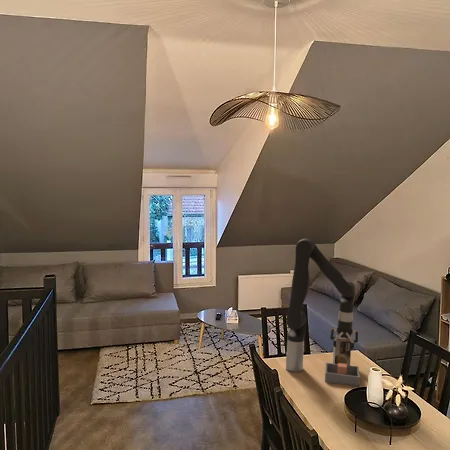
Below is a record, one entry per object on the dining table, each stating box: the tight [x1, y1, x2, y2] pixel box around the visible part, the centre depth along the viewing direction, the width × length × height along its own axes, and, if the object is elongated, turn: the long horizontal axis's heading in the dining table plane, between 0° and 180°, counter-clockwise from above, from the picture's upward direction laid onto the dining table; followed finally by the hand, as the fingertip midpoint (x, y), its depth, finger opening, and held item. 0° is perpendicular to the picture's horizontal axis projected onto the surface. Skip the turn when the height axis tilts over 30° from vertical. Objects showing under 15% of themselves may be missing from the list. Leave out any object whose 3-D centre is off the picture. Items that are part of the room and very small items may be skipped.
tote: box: [324, 362, 361, 387], centre depth 238 cm, size 18×14×5 cm
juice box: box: [337, 363, 347, 375], centre depth 238 cm, size 4×4×7 cm
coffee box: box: [332, 337, 352, 366], centre depth 254 cm, size 9×6×16 cm
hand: (343, 348), depth 236 cm, fingers open, 8 cm apart
